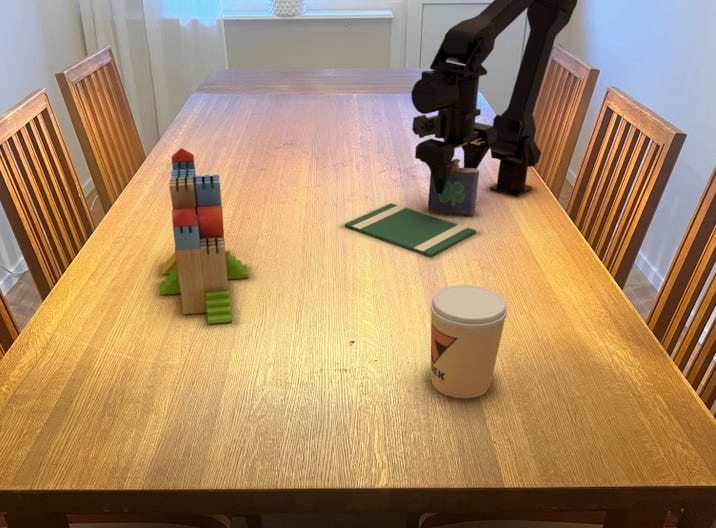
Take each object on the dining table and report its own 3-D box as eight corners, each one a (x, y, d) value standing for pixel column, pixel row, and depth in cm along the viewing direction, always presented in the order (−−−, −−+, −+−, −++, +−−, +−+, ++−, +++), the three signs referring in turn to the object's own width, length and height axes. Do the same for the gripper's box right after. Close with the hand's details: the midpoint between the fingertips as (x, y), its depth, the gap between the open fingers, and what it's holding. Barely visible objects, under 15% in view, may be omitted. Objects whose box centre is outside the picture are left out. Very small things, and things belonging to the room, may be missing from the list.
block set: (255, 321, 111) (246, 197, 100) (158, 329, 109) (139, 203, 98) (243, 243, 134) (235, 136, 124) (163, 248, 132) (148, 140, 122)
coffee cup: (418, 363, 101) (424, 284, 95) (486, 360, 102) (496, 281, 95) (432, 404, 93) (439, 321, 87) (505, 400, 94) (517, 318, 88)
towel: (390, 206, 149) (391, 202, 149) (475, 233, 138) (476, 229, 137) (344, 226, 140) (344, 223, 140) (431, 257, 129) (431, 254, 129)
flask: (475, 212, 146) (481, 158, 140) (473, 218, 144) (479, 163, 138) (428, 208, 148) (432, 154, 142) (426, 213, 146) (429, 159, 140)
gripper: (453, 87, 145) (446, 165, 153) (393, 106, 133) (390, 189, 142) (502, 96, 139) (493, 178, 147) (444, 117, 127) (438, 204, 136)
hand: (453, 186), depth 143 cm, fingers open, 9 cm apart
